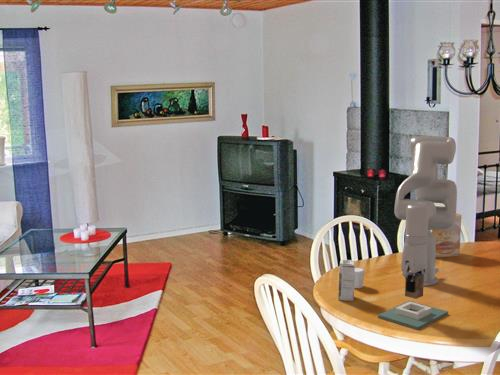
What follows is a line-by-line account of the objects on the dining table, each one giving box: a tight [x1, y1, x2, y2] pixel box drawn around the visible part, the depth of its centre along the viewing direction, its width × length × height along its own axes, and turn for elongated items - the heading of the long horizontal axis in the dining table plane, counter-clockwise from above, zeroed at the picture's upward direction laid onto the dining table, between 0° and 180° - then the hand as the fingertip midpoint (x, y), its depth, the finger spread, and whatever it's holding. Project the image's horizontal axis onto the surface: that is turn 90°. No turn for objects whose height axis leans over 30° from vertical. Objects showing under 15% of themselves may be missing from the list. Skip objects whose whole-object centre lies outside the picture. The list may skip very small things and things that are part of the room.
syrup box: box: [337, 259, 356, 302], centre depth 254 cm, size 6×6×14 cm
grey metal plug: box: [404, 272, 424, 300], centre depth 235 cm, size 4×4×8 cm
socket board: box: [377, 300, 449, 331], centre depth 237 cm, size 20×16×3 cm
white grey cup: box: [354, 266, 366, 289], centre depth 269 cm, size 7×7×7 cm
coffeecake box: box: [430, 212, 463, 258], centre depth 310 cm, size 15×7×20 cm, turn 104°
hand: (414, 289), depth 235 cm, fingers closed on grey metal plug, 4 cm apart
